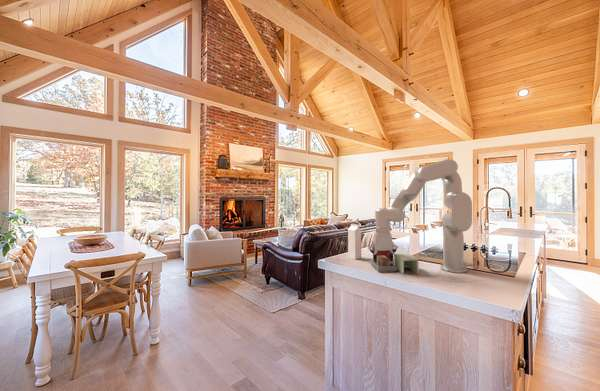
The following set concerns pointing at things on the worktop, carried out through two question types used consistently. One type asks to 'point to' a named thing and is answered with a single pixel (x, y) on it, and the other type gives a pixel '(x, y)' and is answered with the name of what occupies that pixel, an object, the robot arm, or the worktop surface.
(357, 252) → the milk
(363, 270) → the worktop surface
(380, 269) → the tray
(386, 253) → the plant pot
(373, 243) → the robot arm
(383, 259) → the block
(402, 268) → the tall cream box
